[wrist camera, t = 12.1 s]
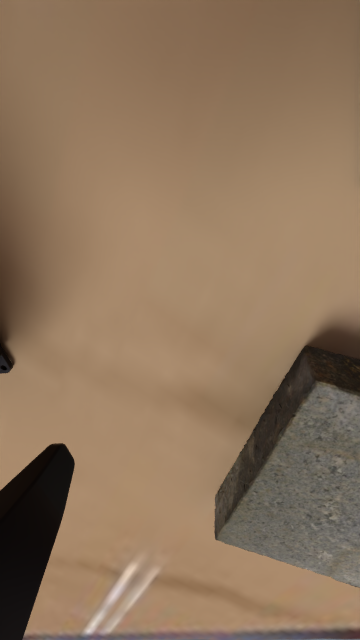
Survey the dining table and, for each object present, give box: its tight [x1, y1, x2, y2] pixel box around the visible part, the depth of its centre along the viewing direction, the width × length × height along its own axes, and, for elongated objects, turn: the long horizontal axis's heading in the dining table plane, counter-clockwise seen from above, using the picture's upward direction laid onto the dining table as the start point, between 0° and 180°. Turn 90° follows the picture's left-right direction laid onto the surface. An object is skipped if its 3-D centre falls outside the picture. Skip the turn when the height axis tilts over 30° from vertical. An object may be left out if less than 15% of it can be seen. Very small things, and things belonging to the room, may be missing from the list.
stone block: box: [215, 346, 360, 587], centre depth 25 cm, size 14×20×5 cm
